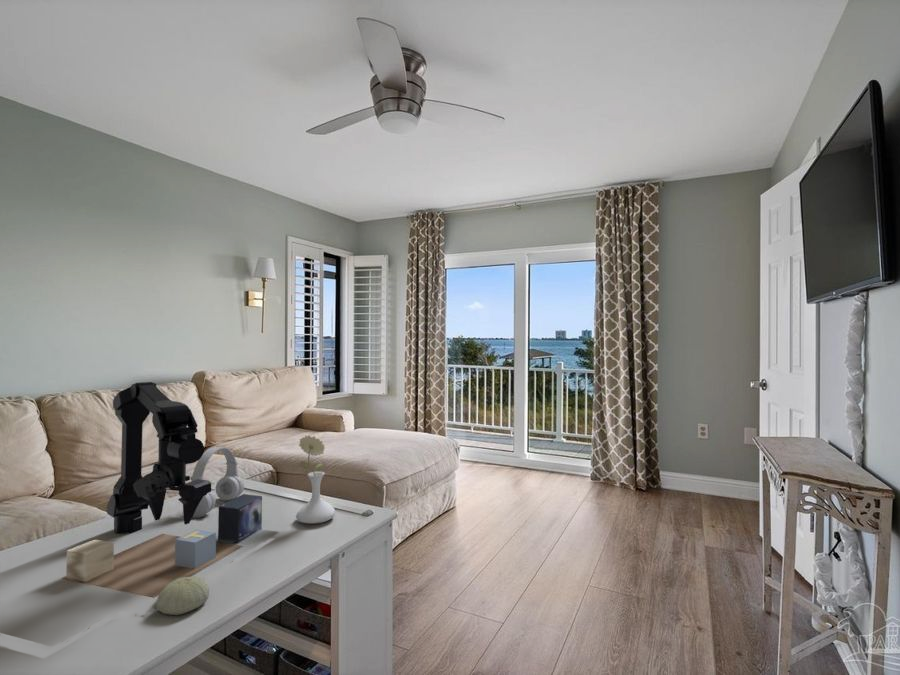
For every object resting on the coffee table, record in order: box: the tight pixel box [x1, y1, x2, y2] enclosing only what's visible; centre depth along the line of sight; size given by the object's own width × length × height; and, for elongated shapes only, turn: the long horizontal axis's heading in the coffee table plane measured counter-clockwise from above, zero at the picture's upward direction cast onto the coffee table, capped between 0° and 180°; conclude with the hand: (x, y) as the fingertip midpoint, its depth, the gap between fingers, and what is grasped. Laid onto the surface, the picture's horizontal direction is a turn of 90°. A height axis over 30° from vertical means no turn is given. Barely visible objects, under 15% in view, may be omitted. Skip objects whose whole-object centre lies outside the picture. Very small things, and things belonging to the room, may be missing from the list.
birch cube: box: [65, 539, 115, 582], centre depth 103 cm, size 6×6×6 cm
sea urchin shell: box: [155, 576, 210, 616], centre depth 93 cm, size 9×8×8 cm
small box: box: [217, 493, 263, 544], centre depth 124 cm, size 11×6×10 cm, turn 168°
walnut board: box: [60, 533, 244, 599], centre depth 109 cm, size 27×25×1 cm
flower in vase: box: [295, 435, 336, 525], centre depth 138 cm, size 13×11×25 cm
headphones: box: [190, 446, 245, 519], centre depth 149 cm, size 20×8×19 cm, turn 172°
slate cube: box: [175, 529, 217, 569], centre depth 109 cm, size 6×6×6 cm
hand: (172, 521), depth 111 cm, fingers open, 9 cm apart
